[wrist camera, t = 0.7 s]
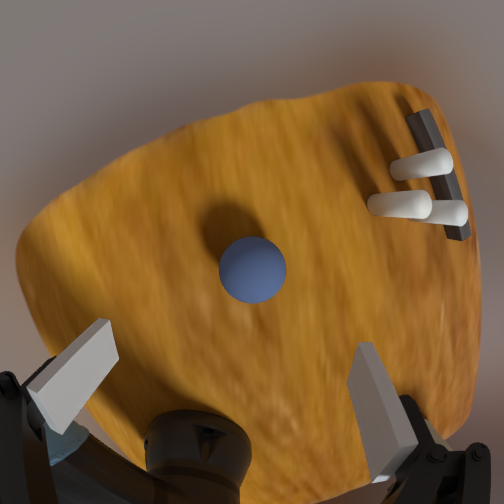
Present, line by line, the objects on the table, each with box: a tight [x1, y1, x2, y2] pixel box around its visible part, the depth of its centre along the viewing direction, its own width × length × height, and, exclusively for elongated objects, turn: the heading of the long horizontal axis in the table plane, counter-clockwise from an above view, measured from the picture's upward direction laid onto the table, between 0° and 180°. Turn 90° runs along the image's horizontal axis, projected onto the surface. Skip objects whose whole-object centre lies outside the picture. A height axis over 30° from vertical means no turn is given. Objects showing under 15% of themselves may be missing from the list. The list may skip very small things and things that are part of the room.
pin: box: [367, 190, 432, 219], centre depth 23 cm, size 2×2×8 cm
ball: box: [219, 236, 286, 303], centre depth 25 cm, size 6×6×6 cm
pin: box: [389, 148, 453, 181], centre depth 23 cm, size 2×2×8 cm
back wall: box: [405, 109, 471, 241], centre depth 26 cm, size 2×16×3 cm, turn 25°
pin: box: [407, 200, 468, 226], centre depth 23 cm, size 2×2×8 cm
